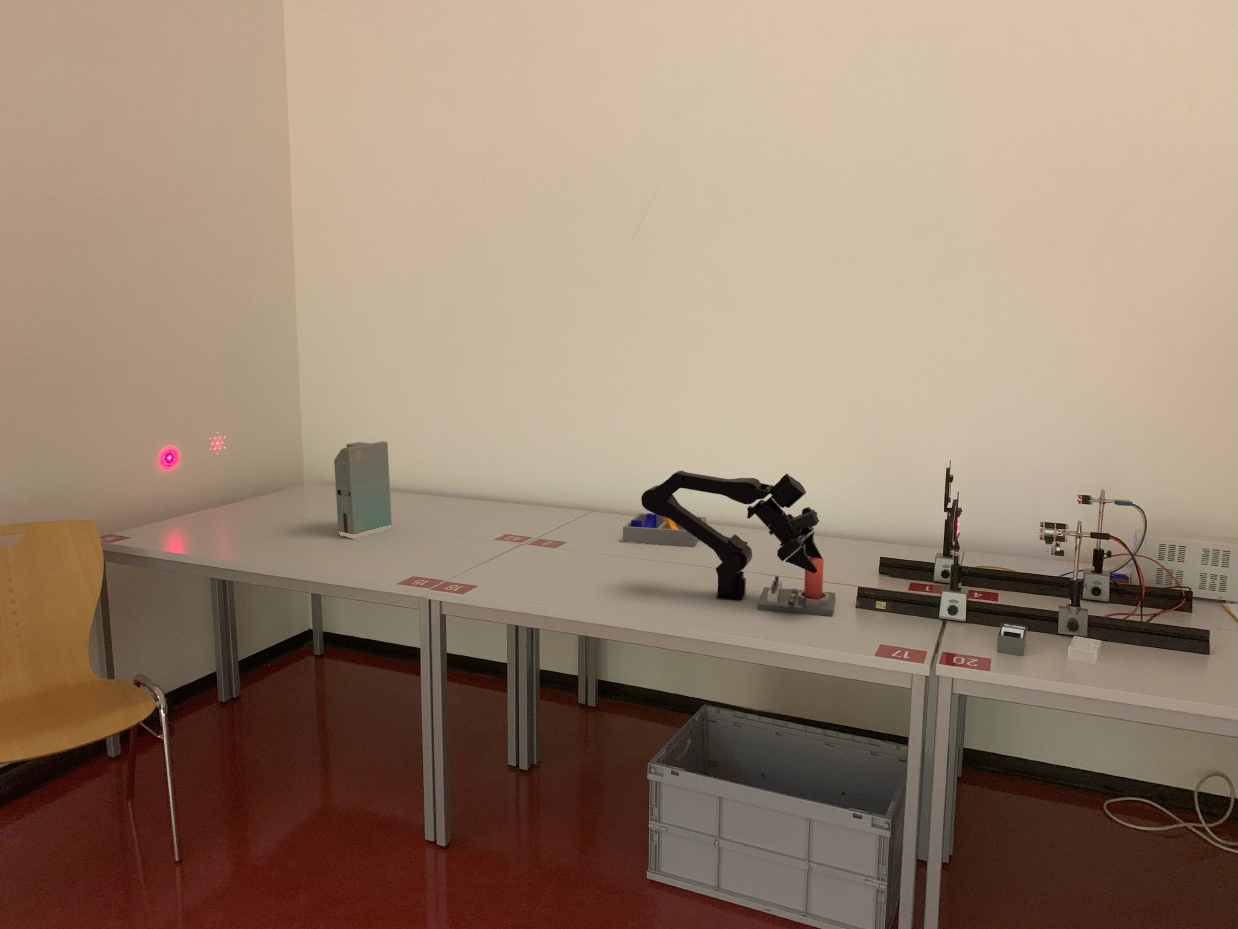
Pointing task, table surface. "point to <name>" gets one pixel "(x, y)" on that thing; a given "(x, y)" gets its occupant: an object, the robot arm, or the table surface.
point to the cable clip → (649, 521)
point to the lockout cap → (814, 580)
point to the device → (362, 487)
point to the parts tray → (659, 533)
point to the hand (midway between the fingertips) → (819, 567)
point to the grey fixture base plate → (794, 601)
